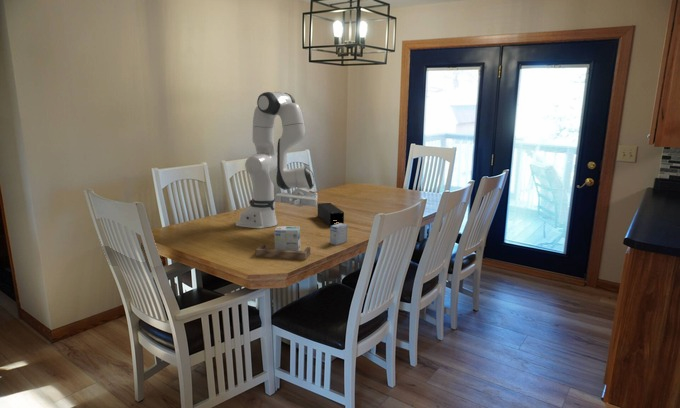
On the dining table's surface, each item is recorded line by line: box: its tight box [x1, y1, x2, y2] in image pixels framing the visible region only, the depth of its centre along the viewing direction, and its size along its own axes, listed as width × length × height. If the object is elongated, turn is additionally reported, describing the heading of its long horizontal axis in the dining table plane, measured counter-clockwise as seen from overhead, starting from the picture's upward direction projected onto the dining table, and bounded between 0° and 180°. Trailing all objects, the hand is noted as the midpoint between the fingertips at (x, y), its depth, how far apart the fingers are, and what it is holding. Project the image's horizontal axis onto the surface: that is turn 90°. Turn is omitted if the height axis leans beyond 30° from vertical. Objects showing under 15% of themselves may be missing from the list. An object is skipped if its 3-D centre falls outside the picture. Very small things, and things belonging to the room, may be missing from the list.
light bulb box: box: [274, 225, 301, 251], centre depth 195 cm, size 11×7×11 cm, turn 88°
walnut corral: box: [255, 243, 311, 261], centre depth 190 cm, size 22×8×3 cm, turn 79°
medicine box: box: [329, 223, 348, 246], centre depth 208 cm, size 8×4×9 cm, turn 141°
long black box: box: [317, 202, 345, 227], centre depth 249 cm, size 8×8×28 cm
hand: (292, 203), depth 202 cm, fingers closed
